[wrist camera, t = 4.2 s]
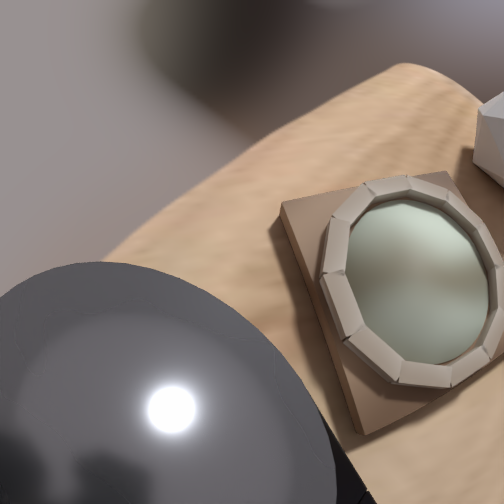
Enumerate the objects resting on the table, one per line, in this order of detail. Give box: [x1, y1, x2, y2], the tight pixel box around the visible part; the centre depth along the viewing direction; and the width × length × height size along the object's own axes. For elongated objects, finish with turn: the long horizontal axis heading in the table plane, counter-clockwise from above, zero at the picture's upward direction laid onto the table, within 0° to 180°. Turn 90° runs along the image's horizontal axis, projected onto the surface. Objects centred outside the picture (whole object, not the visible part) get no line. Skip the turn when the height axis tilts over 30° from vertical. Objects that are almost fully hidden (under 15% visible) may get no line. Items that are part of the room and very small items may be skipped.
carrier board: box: [279, 171, 504, 436], centre depth 15 cm, size 12×12×2 cm
